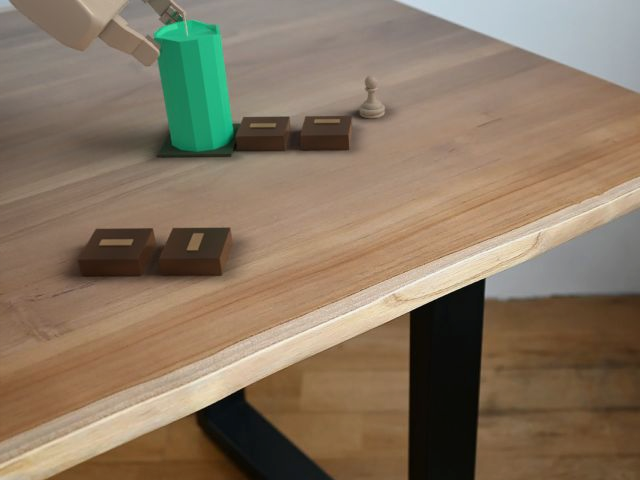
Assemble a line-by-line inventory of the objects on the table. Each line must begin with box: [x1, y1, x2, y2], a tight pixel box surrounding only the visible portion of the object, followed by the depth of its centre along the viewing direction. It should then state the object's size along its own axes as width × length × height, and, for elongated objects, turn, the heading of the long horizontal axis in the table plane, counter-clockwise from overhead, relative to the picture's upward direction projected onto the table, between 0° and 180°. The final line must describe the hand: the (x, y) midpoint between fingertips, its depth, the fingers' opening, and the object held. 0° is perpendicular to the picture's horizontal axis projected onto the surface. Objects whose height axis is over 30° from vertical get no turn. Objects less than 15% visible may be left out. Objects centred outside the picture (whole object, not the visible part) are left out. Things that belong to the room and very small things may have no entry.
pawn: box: [358, 75, 386, 120], centre depth 90 cm, size 3×3×4 cm
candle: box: [152, 13, 234, 152], centre depth 83 cm, size 6×6×12 cm
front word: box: [77, 226, 234, 277], centre depth 69 cm, size 10×4×2 cm, turn 89°
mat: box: [157, 122, 241, 158], centre depth 87 cm, size 7×7×1 cm
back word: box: [235, 115, 353, 152], centre depth 86 cm, size 10×4×2 cm, turn 89°
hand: (169, 40), depth 81 cm, fingers open, 8 cm apart
